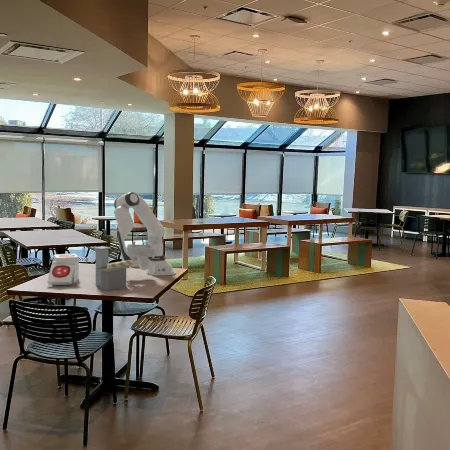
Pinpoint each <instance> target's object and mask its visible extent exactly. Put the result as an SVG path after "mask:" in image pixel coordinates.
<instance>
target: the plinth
mask: <svg viewBox="0 0 450 450" xmlns="http://www.w3.org/2000/svg"><path fill="white" fill-rule="evenodd" d="M93 250H95V286H97V287H98V286H99V287H101V271H98V267H103V266H107V264H109V250H111V247H110V246H103V245H101V246H95V247H93Z"/></svg>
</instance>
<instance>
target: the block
mask: <svg viewBox="0 0 450 450" xmlns="http://www.w3.org/2000/svg"><path fill="white" fill-rule="evenodd" d="M125 265H134V260H126V261H122V260H121V261H117V262H110V263H109V262H108V264H107V268H108V269H109V268H114V267H120V266H125Z"/></svg>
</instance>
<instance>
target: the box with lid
mask: <svg viewBox="0 0 450 450" xmlns="http://www.w3.org/2000/svg"><path fill="white" fill-rule="evenodd" d="M130 268H131V266H130V265H125V266H120V267H114V268H109V269H108V268H107V266H103V267H98V271H101V286H100V290H101V291H106V292H111V291H115V290H119V289H124V288H127V269H130Z"/></svg>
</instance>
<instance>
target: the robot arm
mask: <svg viewBox="0 0 450 450" xmlns="http://www.w3.org/2000/svg"><path fill="white" fill-rule="evenodd" d="M113 206H114V210H113V214H114V217H115V220H116V223H117V226H118V229H117V232H116V237H117V242H118V246H119V250H120V254H121V261H126V260H134V262H136V261H138V265H139V267H138V268H139V269H140V271H146V275H151V276H174V275H175V274H176V270H173V265H172V264H171V263H170V262H168V261H167V260H166V259H167V256H165V255H164V254H163V253H164V244H163V243H164V242H163V237H164V236H165V234H166V231H165V230H166V229H165V227H164V226H163V224H162V223H161V222H160V220H159V219H158V217H157V216H156V215H155V214H154V212H153V211H152V209H151V207H150V205H148V203H147V202H146V200H144V199H143V197H142V196H140V195H138V194H137V193H135V192H134V191H133V192H132V191H130V192H127V193H122V194H121V195H120V196H118V197H116V199H115V200H114V201H113ZM131 208H132V209H133V211H134V213H135V214H136V216H137V217H138V219H139V220H140V222H141V223H142V225H144V227H145V228H146V230H147V241H146V242H145V244H136V241H132V243H130V244H129V243H128V245H127V247H126V244H125V238H126V237H127V235H128V234H129V233H131V231H132V230H133V229H134V225H135V224H134V220H133V217H132V215H131V214H130V209H131Z"/></svg>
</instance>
